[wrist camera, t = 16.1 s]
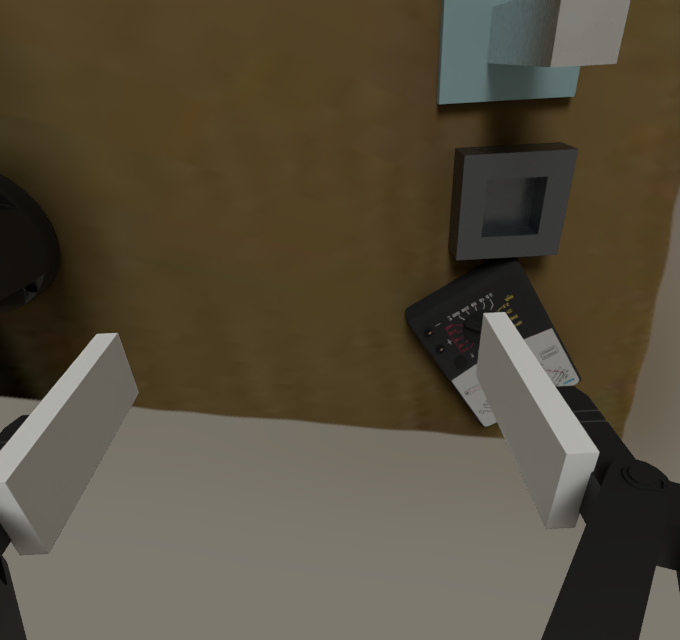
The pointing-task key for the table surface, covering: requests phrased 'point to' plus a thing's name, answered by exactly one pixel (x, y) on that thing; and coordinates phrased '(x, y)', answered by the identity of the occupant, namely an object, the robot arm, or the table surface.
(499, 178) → the socket block
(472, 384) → the multimeter
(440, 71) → the slate mat
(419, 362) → the table surface
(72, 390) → the robot arm
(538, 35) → the long steel block
